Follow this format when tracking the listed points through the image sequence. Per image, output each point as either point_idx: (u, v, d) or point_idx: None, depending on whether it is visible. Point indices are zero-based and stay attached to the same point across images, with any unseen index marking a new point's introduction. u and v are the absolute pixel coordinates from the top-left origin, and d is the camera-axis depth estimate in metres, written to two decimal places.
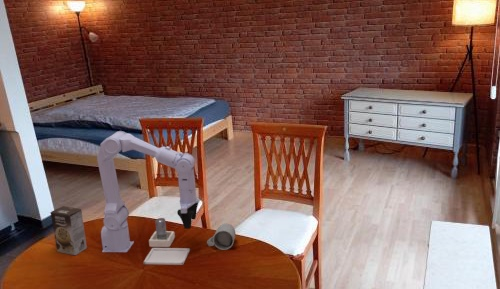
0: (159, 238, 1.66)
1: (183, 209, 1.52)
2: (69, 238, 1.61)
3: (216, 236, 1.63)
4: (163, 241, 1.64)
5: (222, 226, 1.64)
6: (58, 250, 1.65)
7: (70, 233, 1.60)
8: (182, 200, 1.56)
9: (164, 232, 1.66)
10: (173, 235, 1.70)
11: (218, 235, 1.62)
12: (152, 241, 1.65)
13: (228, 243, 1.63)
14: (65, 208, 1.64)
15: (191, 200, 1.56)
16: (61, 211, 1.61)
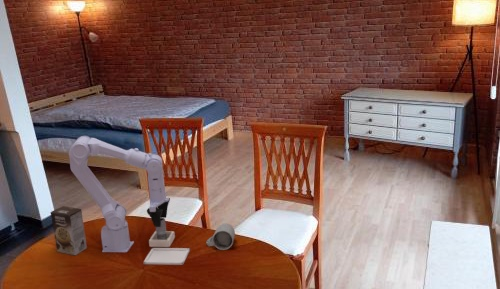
0: (159, 238, 1.66)
1: (152, 208, 1.57)
2: (69, 238, 1.61)
3: (215, 236, 1.63)
4: (163, 241, 1.64)
5: (221, 226, 1.64)
6: (58, 250, 1.65)
7: (70, 233, 1.60)
8: (152, 199, 1.62)
9: (164, 232, 1.66)
10: (173, 235, 1.70)
11: (217, 235, 1.62)
12: (152, 241, 1.65)
13: (227, 243, 1.63)
14: (65, 208, 1.64)
15: (160, 199, 1.61)
16: (61, 211, 1.61)
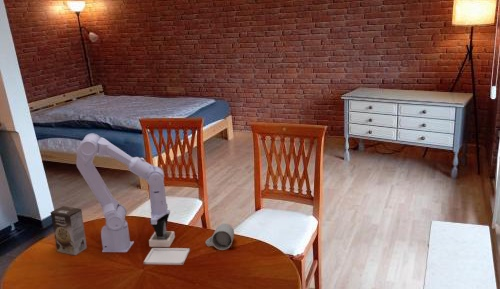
0: (159, 238, 1.66)
1: (153, 220, 1.58)
2: (69, 238, 1.61)
3: (215, 236, 1.63)
4: (163, 241, 1.64)
5: (221, 226, 1.64)
6: (58, 250, 1.65)
7: (70, 233, 1.60)
8: (153, 211, 1.63)
9: (164, 232, 1.66)
10: (173, 235, 1.70)
11: (217, 235, 1.62)
12: (152, 241, 1.65)
13: (227, 243, 1.63)
14: (65, 208, 1.64)
15: (162, 211, 1.63)
16: (61, 211, 1.61)
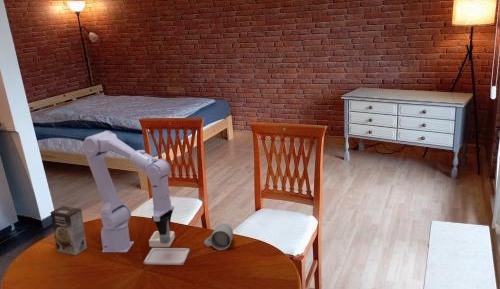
0: (161, 237, 1.54)
1: (156, 217, 1.46)
2: (69, 238, 1.61)
3: (213, 236, 1.63)
4: None
5: (219, 226, 1.64)
6: (58, 250, 1.65)
7: (70, 233, 1.60)
8: (155, 207, 1.50)
9: None
10: (173, 235, 1.70)
11: (215, 235, 1.62)
12: (152, 241, 1.65)
13: (225, 243, 1.63)
14: (65, 208, 1.64)
15: (165, 207, 1.50)
16: (61, 211, 1.61)
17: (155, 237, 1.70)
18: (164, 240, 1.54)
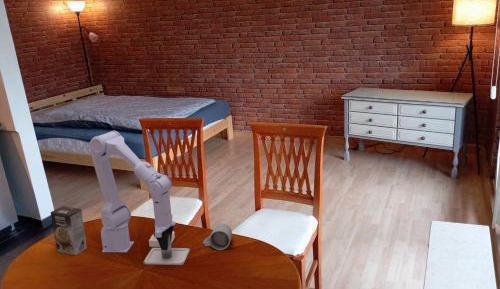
0: (162, 252, 1.55)
1: (157, 233, 1.47)
2: (69, 238, 1.61)
3: (212, 236, 1.63)
4: None
5: (218, 226, 1.64)
6: (58, 250, 1.65)
7: (70, 233, 1.60)
8: (157, 223, 1.52)
9: (168, 246, 1.55)
10: (173, 235, 1.70)
11: (214, 235, 1.63)
12: (152, 241, 1.65)
13: (224, 243, 1.63)
14: (65, 208, 1.64)
15: (166, 223, 1.52)
16: (61, 211, 1.61)
17: None
18: (165, 255, 1.55)
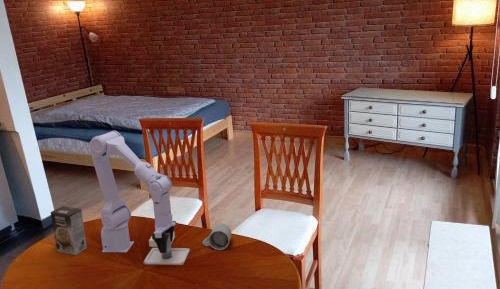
0: (162, 253, 1.55)
1: (157, 234, 1.47)
2: (69, 238, 1.61)
3: (212, 236, 1.64)
4: None
5: (218, 226, 1.64)
6: (58, 250, 1.65)
7: (70, 233, 1.60)
8: (157, 224, 1.52)
9: (168, 247, 1.55)
10: (173, 235, 1.70)
11: (214, 235, 1.63)
12: (152, 241, 1.65)
13: (224, 243, 1.63)
14: (65, 208, 1.64)
15: (166, 223, 1.52)
16: (61, 211, 1.61)
17: None
18: (165, 256, 1.56)
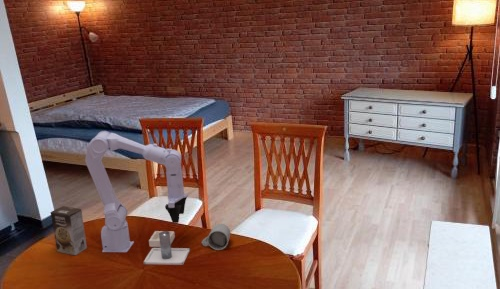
0: (162, 253, 1.55)
1: (171, 204, 1.56)
2: (69, 238, 1.61)
3: (211, 236, 1.64)
4: None
5: (217, 226, 1.64)
6: (58, 250, 1.65)
7: (70, 233, 1.60)
8: (170, 195, 1.60)
9: (168, 247, 1.55)
10: (173, 235, 1.70)
11: (213, 235, 1.63)
12: (152, 241, 1.65)
13: (223, 243, 1.63)
14: (65, 208, 1.64)
15: (179, 195, 1.60)
16: (61, 211, 1.61)
17: (155, 237, 1.70)
18: (165, 256, 1.56)
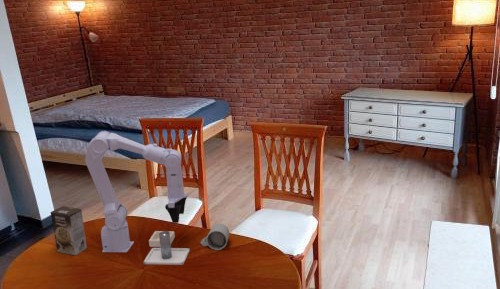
0: (162, 253, 1.55)
1: (171, 204, 1.56)
2: (69, 238, 1.61)
3: (210, 236, 1.64)
4: None
5: (216, 226, 1.64)
6: (58, 250, 1.65)
7: (70, 233, 1.60)
8: (170, 195, 1.60)
9: (168, 247, 1.55)
10: (173, 235, 1.70)
11: (212, 235, 1.63)
12: (152, 241, 1.65)
13: (222, 243, 1.63)
14: (65, 208, 1.64)
15: (179, 195, 1.60)
16: (61, 211, 1.61)
17: (155, 237, 1.70)
18: (165, 256, 1.56)
